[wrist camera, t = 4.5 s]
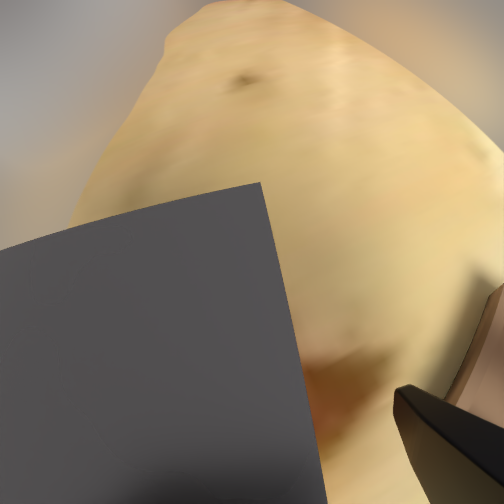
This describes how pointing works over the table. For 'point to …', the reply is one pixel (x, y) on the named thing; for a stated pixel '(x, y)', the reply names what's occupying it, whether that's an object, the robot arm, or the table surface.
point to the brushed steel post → (154, 362)
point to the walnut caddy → (484, 366)
